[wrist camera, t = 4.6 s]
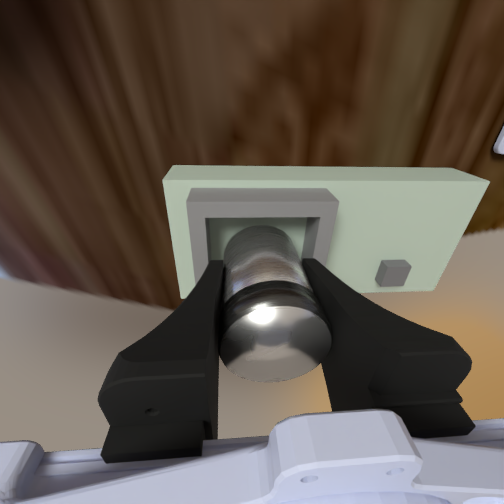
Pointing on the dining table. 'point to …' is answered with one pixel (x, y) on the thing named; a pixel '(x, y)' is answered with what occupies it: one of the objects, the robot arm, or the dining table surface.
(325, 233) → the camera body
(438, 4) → the dining table surface
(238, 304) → the lens
